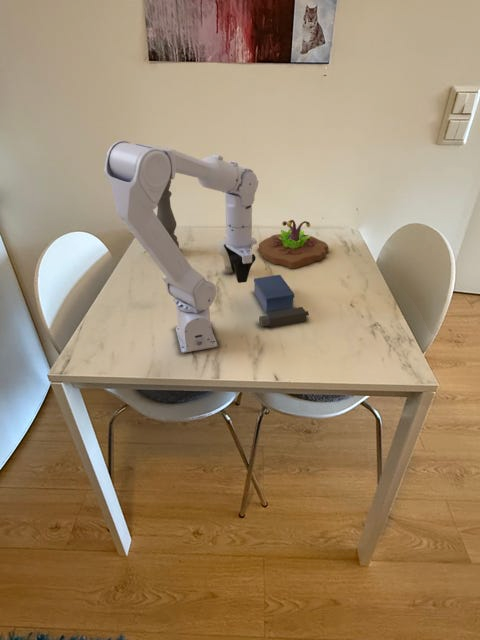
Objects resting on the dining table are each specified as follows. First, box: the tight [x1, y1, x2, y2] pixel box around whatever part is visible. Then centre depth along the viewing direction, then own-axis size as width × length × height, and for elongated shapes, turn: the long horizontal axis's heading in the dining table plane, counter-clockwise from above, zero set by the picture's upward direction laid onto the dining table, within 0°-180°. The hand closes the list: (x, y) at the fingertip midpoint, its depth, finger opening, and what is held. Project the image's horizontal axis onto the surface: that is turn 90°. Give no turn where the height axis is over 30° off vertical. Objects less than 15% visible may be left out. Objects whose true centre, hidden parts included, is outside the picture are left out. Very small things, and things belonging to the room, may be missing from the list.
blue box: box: [253, 274, 296, 315], centre depth 105 cm, size 10×7×4 cm
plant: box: [258, 219, 329, 270], centre depth 125 cm, size 20×20×11 cm
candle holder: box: [156, 179, 180, 249], centre depth 122 cm, size 6×6×25 cm
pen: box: [258, 306, 310, 328], centre depth 97 cm, size 12×3×3 cm, turn 106°
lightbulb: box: [217, 236, 233, 274], centre depth 115 cm, size 6×6×11 cm
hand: (239, 277), depth 98 cm, fingers open, 4 cm apart
